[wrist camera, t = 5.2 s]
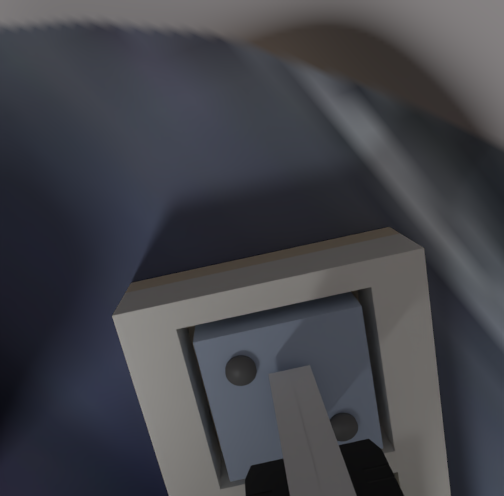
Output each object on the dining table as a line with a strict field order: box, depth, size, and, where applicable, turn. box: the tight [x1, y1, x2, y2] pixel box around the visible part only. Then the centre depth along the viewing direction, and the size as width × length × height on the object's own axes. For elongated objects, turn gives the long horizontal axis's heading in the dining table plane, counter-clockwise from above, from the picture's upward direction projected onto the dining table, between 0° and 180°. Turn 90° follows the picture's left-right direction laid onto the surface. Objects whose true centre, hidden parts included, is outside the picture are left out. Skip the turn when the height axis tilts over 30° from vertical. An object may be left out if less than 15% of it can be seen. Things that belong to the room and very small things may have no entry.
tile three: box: [193, 292, 383, 482], centre depth 18 cm, size 6×6×2 cm
